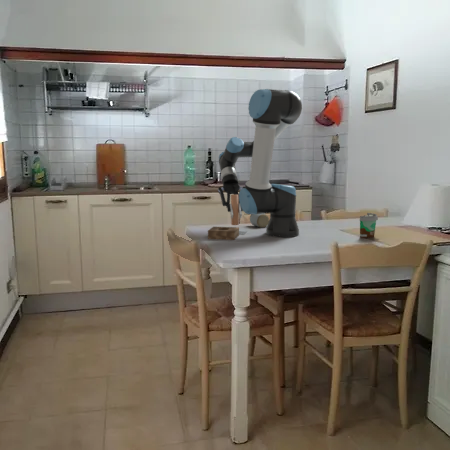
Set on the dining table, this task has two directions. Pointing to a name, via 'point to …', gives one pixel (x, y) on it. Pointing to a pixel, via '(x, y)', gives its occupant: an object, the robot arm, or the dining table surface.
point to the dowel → (235, 210)
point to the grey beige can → (259, 220)
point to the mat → (242, 233)
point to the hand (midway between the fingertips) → (236, 216)
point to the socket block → (223, 233)
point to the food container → (368, 225)
